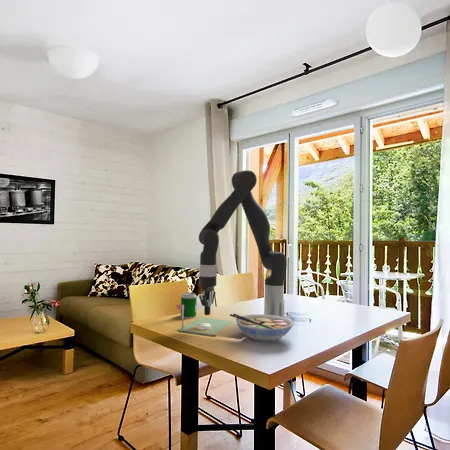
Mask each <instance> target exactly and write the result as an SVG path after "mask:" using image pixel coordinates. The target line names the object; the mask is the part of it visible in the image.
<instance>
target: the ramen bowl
mask: <svg viewBox="0 0 450 450" xmlns="http://www.w3.org/2000/svg"><path fill="white" fill-rule="evenodd" d="M229 316H230V317H233V318H235V322H236V324H237V326H238V328H239V330H240V331H241V332H242V333H243V334H244V335H245V336H247V337H248V338H250V339H254V340H255V341H257V342H260V343H271V342H273V341H275V340H279V339H282V338H283V337H285V336H286V335H287V334H288V333H290V330H291V329H292V327H293V326H294V321H293V320H292V319H289V318H288V317H285V316H284V317H280V316H274V315H264V313H263V314H259V313H258V314H257V313H256V314H246V315H239V314H236V313H233V314H232V313H230V314H229Z"/></svg>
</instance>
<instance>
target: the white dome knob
mask: <svg viewBox="0 0 450 450" xmlns="http://www.w3.org/2000/svg"><path fill="white" fill-rule="evenodd" d="M196 329H197V330H198V331H206V330H207V331H209V330H211V329H212V327H211V324H209V323H198V324H197V325H196Z"/></svg>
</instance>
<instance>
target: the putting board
mask: <svg viewBox="0 0 450 450" xmlns="http://www.w3.org/2000/svg"><path fill="white" fill-rule="evenodd" d="M176 310H180V311H181V310H182V317H181V327H179V328H178V329H177V333H182V334H188V335H197V336H203V337H210V338H215V337H216V336H217V335H215V334H217V333H218V332H219V331H221V330H223V329H224V328H226V327H227V326H229V325H231V324H232V323H233V322H234V320H228V319H222V318H220V319H219V318H211V317H201V318H198V319H195V321H192V322H190V323H187V324H185V325H184V319H185V318H184V305H181V303H180V304H179V303H176ZM198 323H209V324H211V329H208V330H207V331H205V330H198V329H197V330H195V329H192V328H194V327H195V326H196V327H197V324H198Z"/></svg>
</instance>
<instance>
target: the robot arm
mask: <svg viewBox="0 0 450 450" xmlns="http://www.w3.org/2000/svg"><path fill="white" fill-rule="evenodd" d="M231 177H232V178H231V185H232V188H233V191H232V192H231V193H230V195H228V197H227V198H225V199H224V201H222V203H221V204H219V206H218V208H217V209H216V210H215V212H214V214H213V215H212V217H211V218H210V220H209V221H208V222H207V223H206V224H205V225H204V226H203V228H202V229H201V231H200V232H199V233H198V241H199V243H200V244H201V245H203V249H202V251H201V252H200V254H199V272H198V273H199V275H198V277H199V278H198V281H199V283H198V284H199V286H200V287H202V289H201V294H199V295H198V298H199V301H200V304H201V306H203V307H204V315H205V316H210V315H211V307H212V305H213V304H214V300H215V298H216V291H215V290H214V287H216V286H217V276H218V275H217V271H218V270H217V252H218V247H219V243H220V241H219V239H220V238H219V234H218V233H219V231H221V230H222V229H224V228H225V227H226V225H227V224H228V222H229V220H230V219H231V217H232V216H233V215H234V213H235V211H236V210H237V209H238V207H239V206H240V205H241V206H242V209H243V211H244V215H245V217H246V220H247V222H248V226H249V228H250V230H251V233H252V235H253V238H254V240H255V243H256V246H257V249H258V253H259V257H260V260H261V261H260V262H261V263H262V265H263V267H264V269H266V270H268V271H270V275H269V276H268V277H266V278H265V280H264V299H263V301H264V303H263V306H264V307H263V310H264V311H263V315H274V316H280V317H285V300H284V296H285V293H284V291H285V289H284V288H285V287H284V286H285V280H286V275H287V261H288V260H287V257H286V255H285V254H284V252H281V251H274V250H273V248H272V245H271V243H270V233H271V231H270V230H271V226H270V222H269V221H270V220H269V219H268V216H267V214H266V211H265V210H264V208H263V207H262V206H261V205H260V204H259V203H258V201H257V200H256V199H255V196H254V195H253V193H252V191H253V189H254V188H255V186H256V184H257V181H258V180H257V175H256V173H255V172H254V171H252V170H245V169H244V170H241V171H236V172H235V173H233V175H232V176H231Z"/></svg>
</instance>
